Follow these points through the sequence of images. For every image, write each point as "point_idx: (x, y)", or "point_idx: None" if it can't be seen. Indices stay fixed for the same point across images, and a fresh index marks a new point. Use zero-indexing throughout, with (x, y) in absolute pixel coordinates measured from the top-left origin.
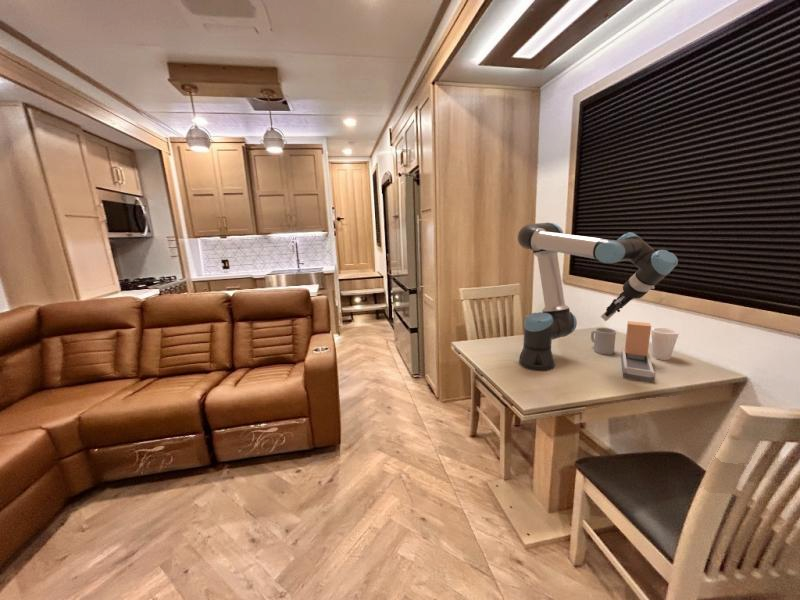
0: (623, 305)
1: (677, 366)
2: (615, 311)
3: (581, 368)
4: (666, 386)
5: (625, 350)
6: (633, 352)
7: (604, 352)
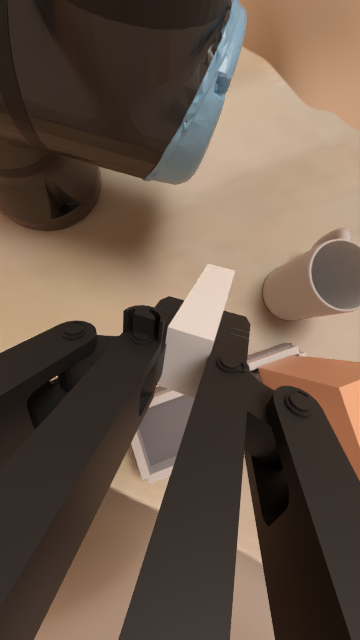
0: (256, 510)
1: None
2: (189, 391)
3: (109, 291)
4: (144, 500)
5: (261, 368)
6: None
7: (267, 302)
